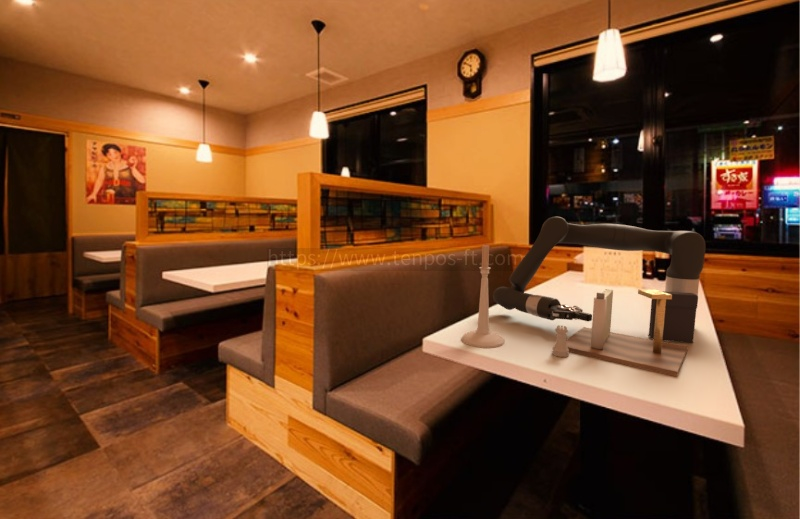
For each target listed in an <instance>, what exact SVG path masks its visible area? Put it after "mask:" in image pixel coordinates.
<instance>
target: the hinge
mask: <svg viewBox="0 0 800 519" xmlns="http://www.w3.org/2000/svg"><path fill="white" fill-rule="evenodd" d="M613 295H614V290H613V289H608V288H607V289H605V290H603V291H602V292H596V297H593V307H592V320H591V322H592V323H591V328H592V337H591V347H593V348H596V349H603V348H604V342H605V341H606V339H607V338H608V336H609V335H610V332H611V327H612V312H613V311H612V310H613V300H614V299H613V297H614V296H613Z"/></svg>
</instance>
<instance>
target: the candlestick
mask: <svg viewBox="0 0 800 519" xmlns="http://www.w3.org/2000/svg"><path fill="white" fill-rule="evenodd" d="M489 253H490V245H487V244H484V245H481V266H480V267H478V268H479V270H480V272H479V273H480V274H481V280H480V281H481V282H480V294H479V305H478V320H477V329H476V330H472V331H468V332H467V333H464V334H463V335H462V337H461V341H462V342H463V343H464V344H466V345H468V346H471V347H475V348H483V349H491V348H492V349H493V348H499V347H503V345H504V344H505V338H504V337H503V336H502V335H500V334H498V333H496V332H493V331H490V313H489V312H490V311H489V278H488V276H489V274H490V270H491V269H492V268H491V267H489V263H490V262H489V256H490V255H489Z"/></svg>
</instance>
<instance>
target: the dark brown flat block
mask: <svg viewBox="0 0 800 519" xmlns="http://www.w3.org/2000/svg"><path fill="white" fill-rule="evenodd" d="M662 292H665V290H664V291H662ZM665 293H668V294H671V295H672V299H666V305H665V317H664V328H663V340H662V342H675V343H685V344H686V343H687V344H693V343H694V337H695V336H694V335H695V328H694V326H695V327H696V318H695V316H696V317H697V309H698V302H699V295H698V296H697V295H695V294H693V293H682V292H665ZM656 305H657V299H651V303H650V314H649V315H650V316H649V326H648V327H649V329H648V337H649V339H651V340H654V329H655V317H656Z"/></svg>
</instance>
